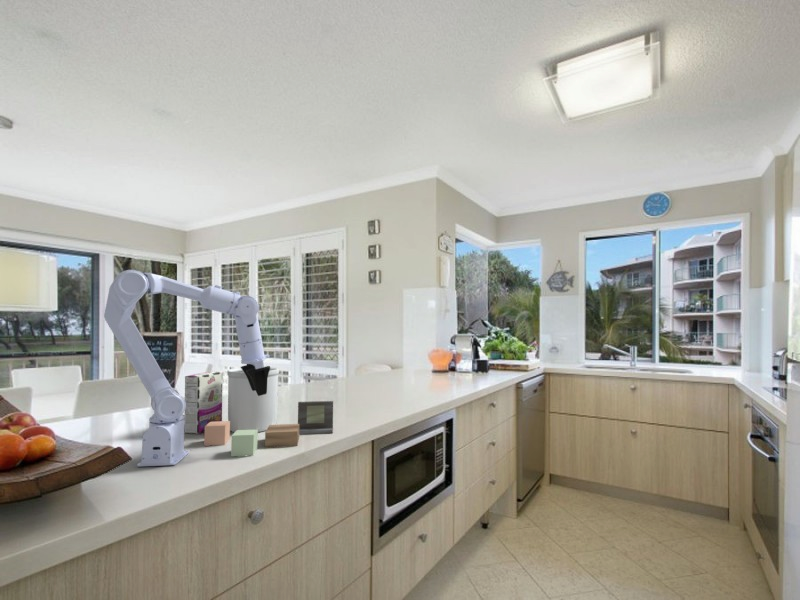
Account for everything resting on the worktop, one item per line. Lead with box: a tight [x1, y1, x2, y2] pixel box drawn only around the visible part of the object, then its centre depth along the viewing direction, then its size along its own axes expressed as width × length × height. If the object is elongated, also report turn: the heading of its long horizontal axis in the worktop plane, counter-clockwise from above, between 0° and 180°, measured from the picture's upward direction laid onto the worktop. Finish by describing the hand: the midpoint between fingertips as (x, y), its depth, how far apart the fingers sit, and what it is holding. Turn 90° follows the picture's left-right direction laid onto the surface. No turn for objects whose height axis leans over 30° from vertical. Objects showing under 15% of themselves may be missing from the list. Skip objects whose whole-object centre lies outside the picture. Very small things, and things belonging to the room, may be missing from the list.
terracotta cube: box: [203, 420, 231, 447], centre depth 109 cm, size 5×5×5 cm
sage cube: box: [230, 429, 259, 457], centre depth 100 cm, size 5×5×5 cm
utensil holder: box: [226, 366, 280, 433], centre depth 125 cm, size 15×15×18 cm
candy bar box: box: [184, 370, 224, 435], centre depth 123 cm, size 11×5×16 cm, turn 168°
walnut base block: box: [264, 423, 300, 448], centre depth 109 cm, size 8×8×4 cm
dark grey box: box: [297, 400, 334, 435], centre depth 121 cm, size 6×10×8 cm, turn 99°
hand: (259, 392), depth 108 cm, fingers open, 7 cm apart
